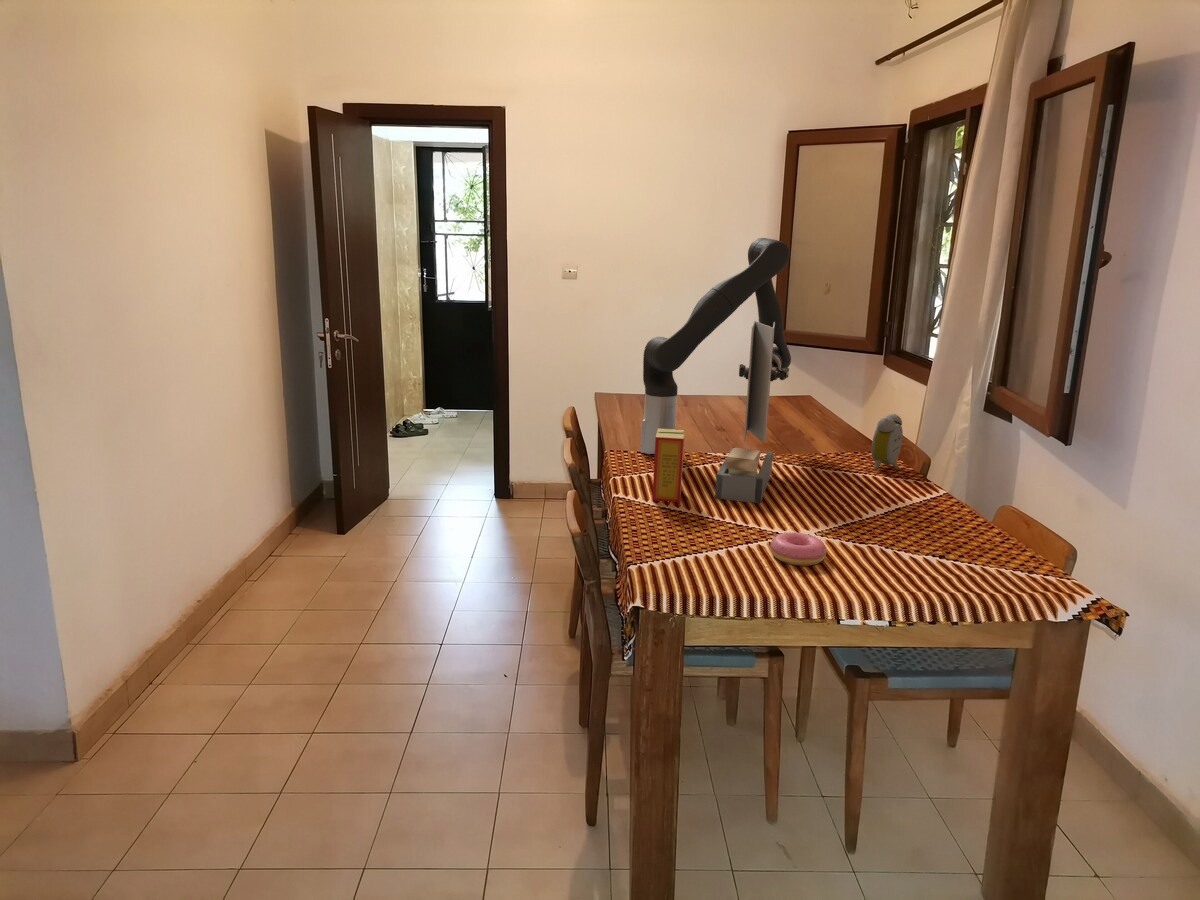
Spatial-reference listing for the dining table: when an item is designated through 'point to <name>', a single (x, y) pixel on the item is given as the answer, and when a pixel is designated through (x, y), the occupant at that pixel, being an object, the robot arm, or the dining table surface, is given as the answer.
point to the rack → (743, 483)
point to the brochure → (759, 380)
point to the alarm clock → (887, 441)
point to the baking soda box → (668, 465)
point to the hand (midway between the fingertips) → (759, 376)
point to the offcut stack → (743, 462)
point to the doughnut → (798, 549)
